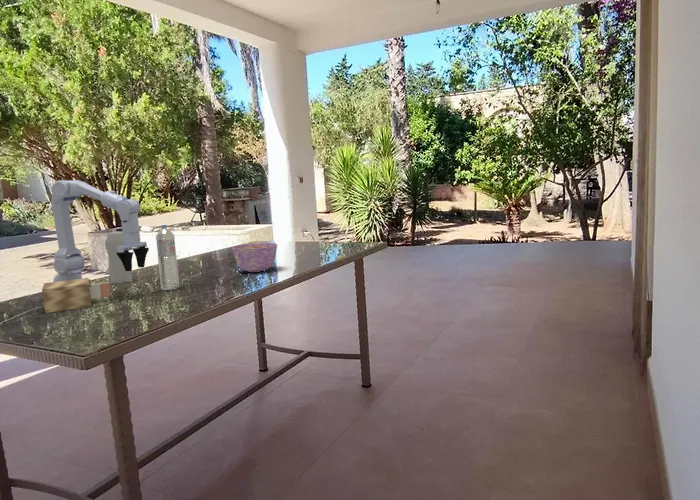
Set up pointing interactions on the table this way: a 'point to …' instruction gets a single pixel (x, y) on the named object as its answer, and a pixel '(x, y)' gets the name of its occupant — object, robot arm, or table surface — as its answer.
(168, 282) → the water bottle
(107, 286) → the ticket
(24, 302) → the table surface
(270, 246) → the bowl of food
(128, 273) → the tall pale column
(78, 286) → the ticket box
